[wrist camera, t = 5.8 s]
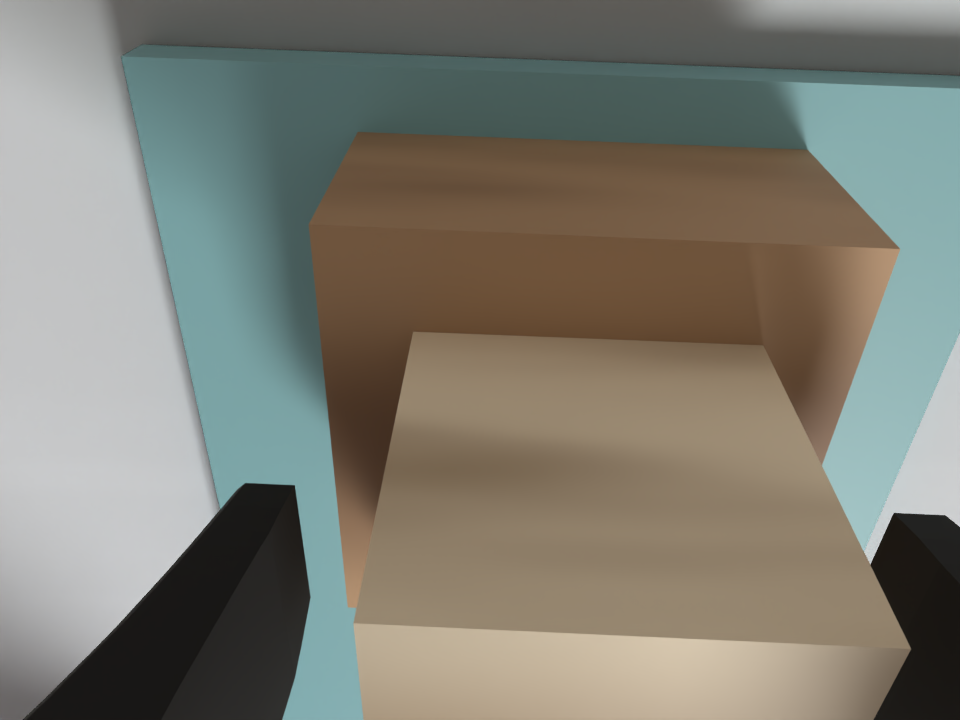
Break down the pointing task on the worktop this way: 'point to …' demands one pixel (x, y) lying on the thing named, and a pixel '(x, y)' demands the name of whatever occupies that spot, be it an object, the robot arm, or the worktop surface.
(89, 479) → the worktop surface
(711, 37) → the worktop surface
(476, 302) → the walnut block
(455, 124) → the build board
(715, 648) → the maple block
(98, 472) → the worktop surface
